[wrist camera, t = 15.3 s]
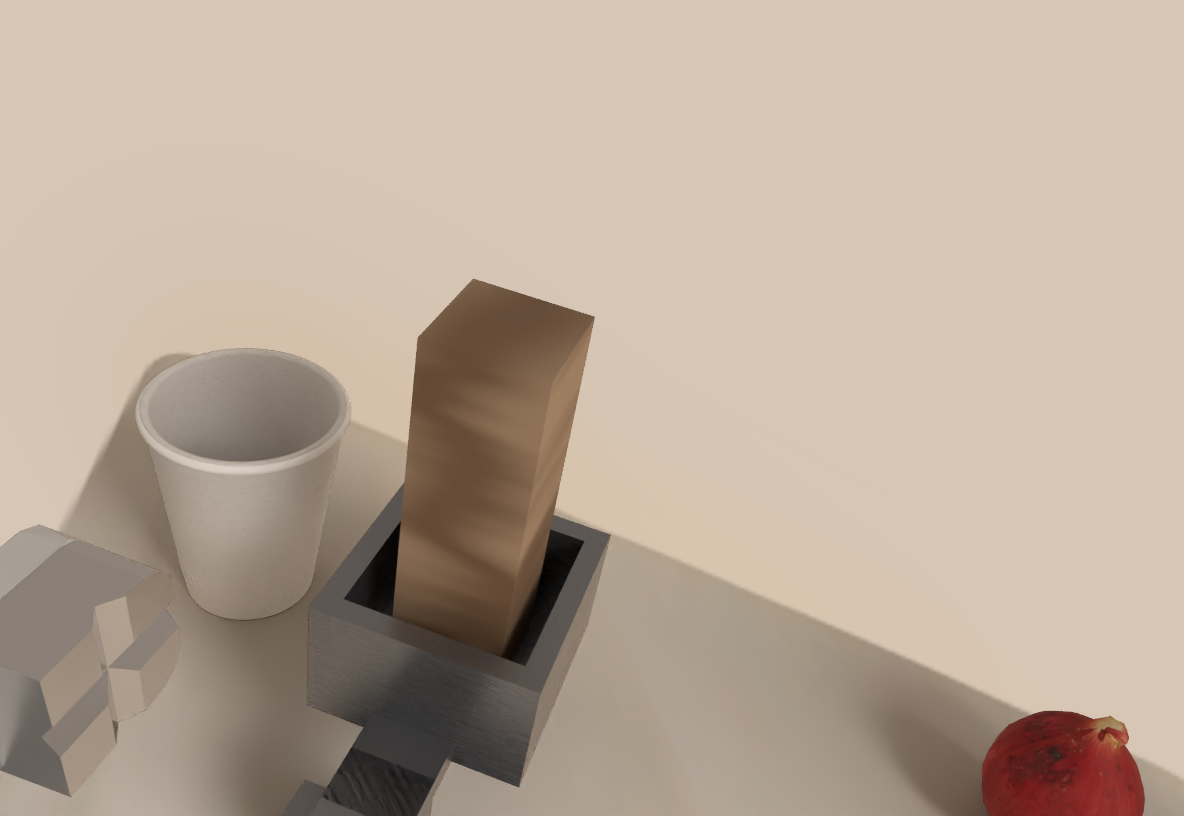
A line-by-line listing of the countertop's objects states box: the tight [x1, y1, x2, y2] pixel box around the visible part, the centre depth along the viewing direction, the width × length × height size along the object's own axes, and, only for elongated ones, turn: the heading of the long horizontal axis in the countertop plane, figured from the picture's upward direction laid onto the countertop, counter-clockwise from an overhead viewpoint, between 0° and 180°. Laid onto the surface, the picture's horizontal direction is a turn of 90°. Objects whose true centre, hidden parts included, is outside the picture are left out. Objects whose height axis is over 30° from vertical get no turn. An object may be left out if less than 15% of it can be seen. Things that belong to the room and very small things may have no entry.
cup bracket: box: [283, 482, 611, 816], centre depth 35 cm, size 8×14×10 cm, turn 163°
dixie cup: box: [135, 348, 351, 620], centre depth 43 cm, size 8×8×10 cm
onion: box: [982, 711, 1145, 816], centre depth 40 cm, size 6×6×8 cm
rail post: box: [392, 279, 595, 662], centre depth 33 cm, size 4×4×14 cm
